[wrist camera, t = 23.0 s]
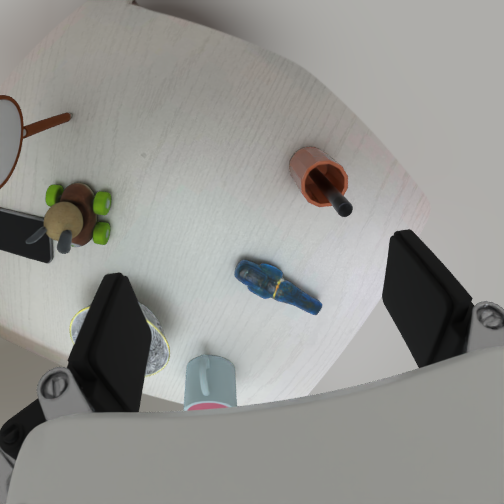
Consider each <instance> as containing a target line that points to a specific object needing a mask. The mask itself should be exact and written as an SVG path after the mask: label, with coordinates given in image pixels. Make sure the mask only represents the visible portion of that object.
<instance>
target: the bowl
mask: <svg viewBox="0 0 504 504" xmlns="http://www.w3.org/2000/svg"><path fill="white" fill-rule="evenodd" d="M138 303H139V305H140V307H141V309H142V312H143V314H144V316H145V318H146V321H147V323H148V325H149V327H150V329H151V333H152V341H151V346H150V351H149V356H148V361H147V367H146V372H145V377H147V376H151V375H154V374H156V373H158V372H159V371H161V370H162V369H163V368H164V367H165V366H166V365H167V363H168V361H169V358H170V348H169V345H168V342H167V340H166V338H165V336H164V333H163V330H162V327H161V325H160V323H159V321H158V319H157V318H156V316H155V315H154V314H153V313H152V312H151V311H150V310H149V309H148V308H147V307H146V306H144V305H143V304H141V303H140V302H138ZM90 306H91V304H90V305H89V306H88V307H86V308H84V309H82V310H80V311H79V312H78V313H77V314H76V315H75V316H74V317H73V319H72V321H71V323H70V337H71V340H72V342H73V344H74V343H75V341H76V338H77V336H78V333H79V331H80V329H81V326H82V324H83V322H84V319H85V317H86V315H87V313H88V310H89V308H90Z"/></svg>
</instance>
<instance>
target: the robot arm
mask: <svg viewBox="0 0 504 504" xmlns="http://www.w3.org/2000/svg"><path fill="white" fill-rule="evenodd" d="M382 298H383V302H384V305H385V306H386V308H387V310H388V312H389V313H390V315H391V317H392V319H393V321H394V322H395V324H396V326H397V328H398V330H399V331H400V333H401V335H402V337H403V339H404V340H405V342H406V344H407V346H408V348H409V350H410V352H411V354H412V356H413V357H414V359H415V361H416V363H417V365H418V367H419V368H418V369H415V370H412V371H409V372H406V373H402V374H398V375H395V376H392V377H388V378H384V379H381V380H377V381H374V382H369V383H365V384H361V385H357V386H353V387H349V388H344V389H340V390H335V391H331V392H326V393H321V394H316V395H311V396H305V397H300V398H294V399H288V400H282V401H275V402H269V403H261V404H254V405H246V406H237V407H227V408H217V409H204V410H190V411H170V412H139V407H140V401H141V395H142V389H143V383H144V378H145V372H146V367H147V361H148V356H149V351H150V346H151V341H152V333H151V329H150V327H149V325H148V323H147V321H146V318H145V316H144V314H143V312H142V309H141V307H140V305H139V303H138V300H137V298H136V296H135V293H134V291H133V289H132V286H131V284H130V281H129V279H128V277H127V276H123V275H122V273H113V274H107V275H105V276H104V278H103V280H102V282H101V284H100V286H99V288H98V291H97V293H96V295H95V297H94V299H93V301H92V304H91V306H90V308H89V310H88V313H87V315H86V317H85V319H84V322H83V324H82V326H81V329H80V331H79V333H78V336H77V338H76V341H75V343H74V346H73V348H72V351H71V353H70V356H69V358H68V362H69V363H68V366H67V368H65V367H56V368H53V369H51V370H49V371H48V372H46V373H45V374H44V375H43V376H42V377H41V379H40V381H39V383H38V385H37V395H38V399H36V400H35V401H34V402H32V403H31V404H30V405H28V406H27V407H26V408H24V409H23V410H21V411H20V412H19V413H17V414H16V415H15V416H13V417H12V418H11V419H9V420H8V421H7V422H6V423H5V424H4V425H3V426H2V428H1V430H0V504H504V309H503V308H502V307H500V306H499V305H498V304H495V303H493V302H487V301H484V302H480V303H477V304H476V305H475V306H474V305H473V303H472V302H471V301H472V297H471V296H470V295H469V294H468V293H467V291H466V290H465V289H464V287H463V286H462V285H461V284H460V283H459V282H458V280H456V278H455V277H454V276H453V275H452V274H451V272H450V271H449V270H448V269H447V268H446V267H445V266H444V264H443V263H442V262H441V261H440V260H439V259H438V258H437V257H436V256H435V255H434V253H433V252H432V251H431V250H430V249H429V248H428V247H427V246H426V245H425V244H424V243H423V242H422V241H421V240H420V239H419V237H418V236H417V235H416V234H415V233H414V232H413V231H412V230H410V229H408V230H401V231H396V232H395V233H394V236H391V238H390V243H389V251H388V259H387V266H386V273H385V280H384V287H383V293H382Z"/></svg>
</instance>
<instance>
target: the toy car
mask: <svg viewBox="0 0 504 504" xmlns="http://www.w3.org/2000/svg"><path fill="white" fill-rule="evenodd" d="M46 203H47V205H48V206H50V208H49V210H48V211H47V213H46V215H45V218H44V227H41V228H40V229H39V230H38V231H37V232H35V233H34V234H33V235H32V236H31V237H29V238H28V239H27V240H26V243H27V244H31V243H34V242H36V241H37V240H38V239H40V238H41V237H42V236H43V235H44V234H45V233H46V234H47V235H48V236H49V237H50V238H52V239H53V240H57V241H58V244H57V250H58V251H59V252H60V253H62V254H66V253H68V252H69V251H70V248H71V246H72V247H80V246H83V245H85V244H87V243H88V242H89V241H90V240H91V239H92V238H93V241H94V243H96V244H101V245H105V244H107V242H108V239H109V235H110V225H109V224H108V223H105V222H97V214H99V215H107V214H108V212H109V209H110V206H111V194H110V193H108V192H102V191H99V192H97V193H96V195H95V197H94V194H93V191H92V190H91V189H90V188H89V187H88V186H87V185H85V184H83V183H73V184H71V185H69V186H68V187H66V189H65V190H63V187H62V186H61V185H50V186H49V188H48V189H47V192H46Z"/></svg>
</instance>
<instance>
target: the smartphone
mask: <svg viewBox="0 0 504 504" xmlns="http://www.w3.org/2000/svg"><path fill="white" fill-rule="evenodd" d="M41 227H44V218H40V217H36V216H32V215H28V214H23V213H19V212H15V211H11V210H7V209H3V208H0V250H3V251H6V252H10V253H13V254H16V255H20V256H23V257H26V258H29V259H33V260H37V261H40V262H44V263H50V262H51V261H52V259H53V247H52V238H50V237H49V236H48V235H47V234H46V233H45V234H44V235H43V236H42V237H41V238H40V239H38V240H37V241H36V242H34V243H31V244H27V243H26V240H27V239H28V238H29V237H31V236H32V235H33V234H34V233H35V232H37V231H38V230H39V229H40V228H41Z"/></svg>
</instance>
